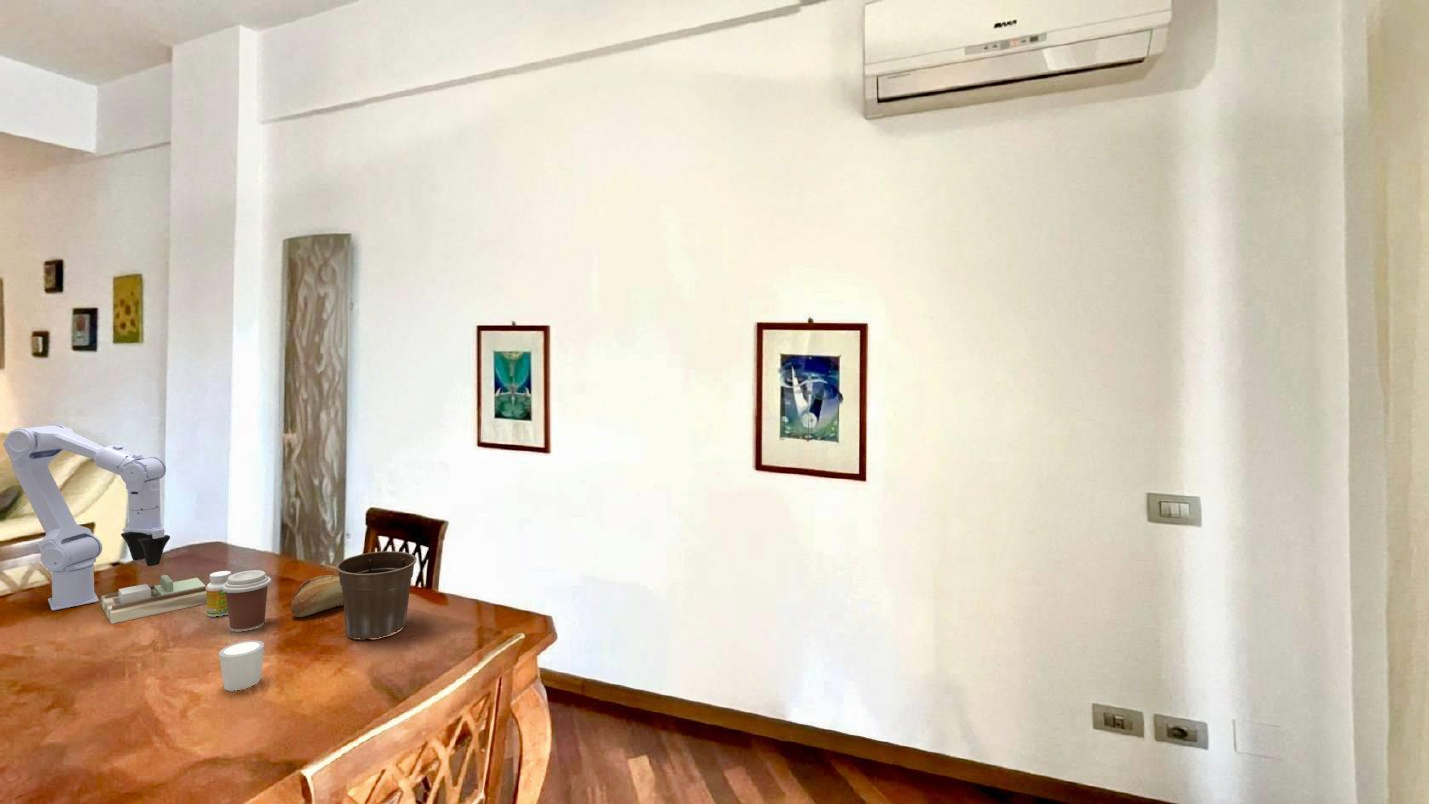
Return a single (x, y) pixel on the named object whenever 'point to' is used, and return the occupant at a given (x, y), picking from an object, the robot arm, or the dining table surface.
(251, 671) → the white round tub
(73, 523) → the robot arm
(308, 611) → the bread roll
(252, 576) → the coffee cup
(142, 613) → the sliding lid box
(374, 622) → the plant pot
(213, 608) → the supplement bottle
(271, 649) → the dining table surface
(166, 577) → the cover
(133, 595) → the grey block
